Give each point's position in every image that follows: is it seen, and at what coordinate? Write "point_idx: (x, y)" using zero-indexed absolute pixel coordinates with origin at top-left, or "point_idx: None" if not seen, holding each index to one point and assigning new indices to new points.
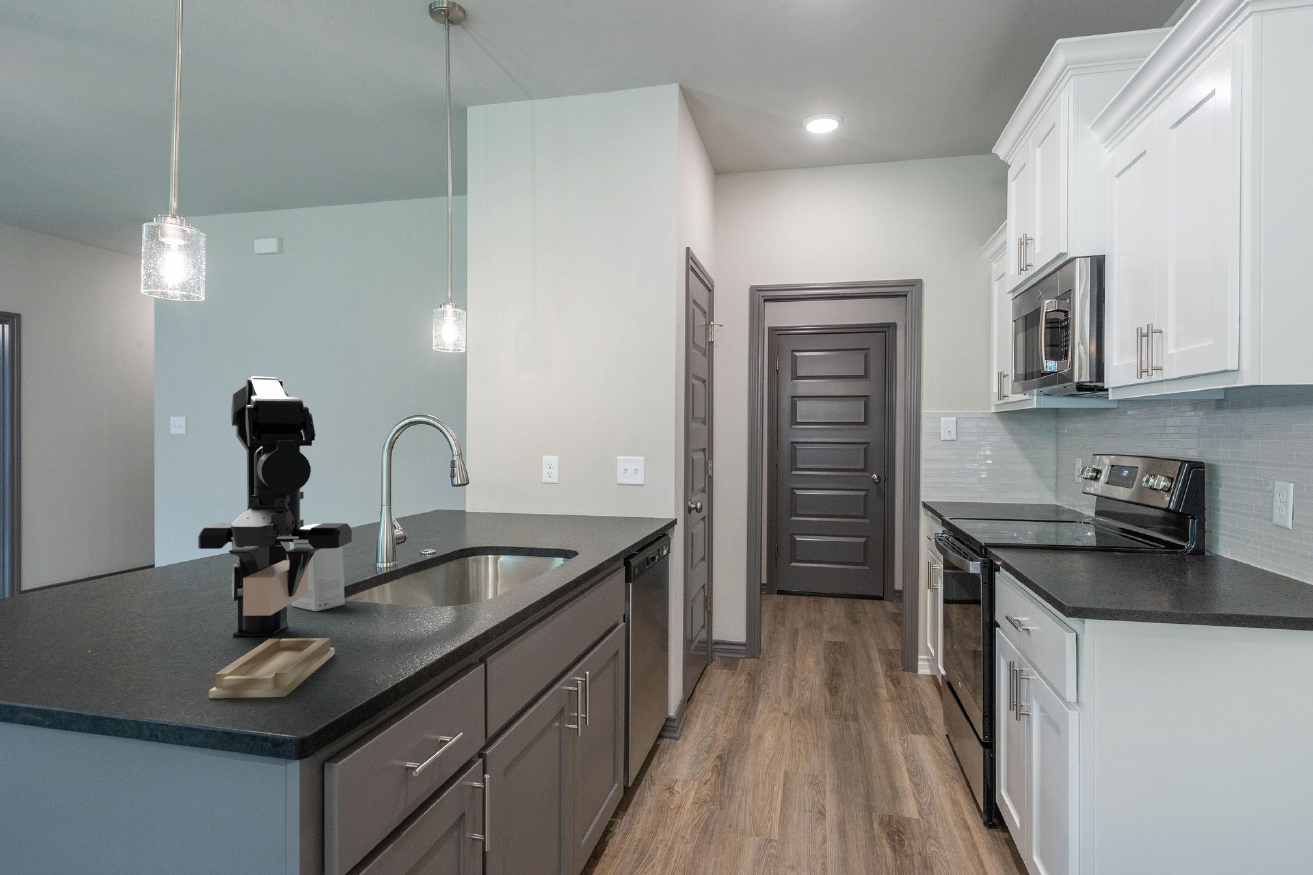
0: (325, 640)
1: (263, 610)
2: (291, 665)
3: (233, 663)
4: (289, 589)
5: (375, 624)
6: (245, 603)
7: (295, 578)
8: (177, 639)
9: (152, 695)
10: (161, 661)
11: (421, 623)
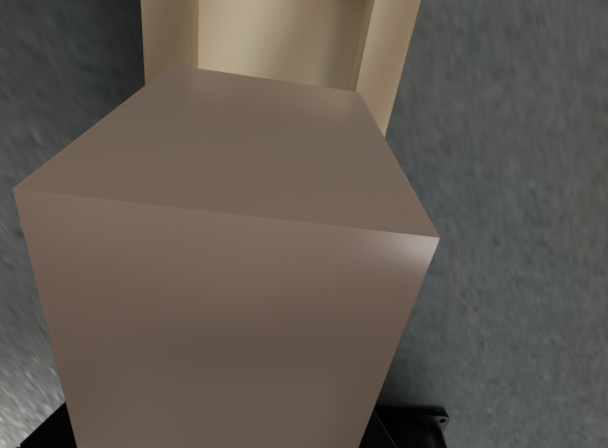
0: None
1: (217, 81)
2: (160, 50)
3: (382, 118)
4: None
5: None
6: (356, 116)
7: (48, 417)
8: (555, 411)
9: (587, 38)
10: (578, 298)
11: None
